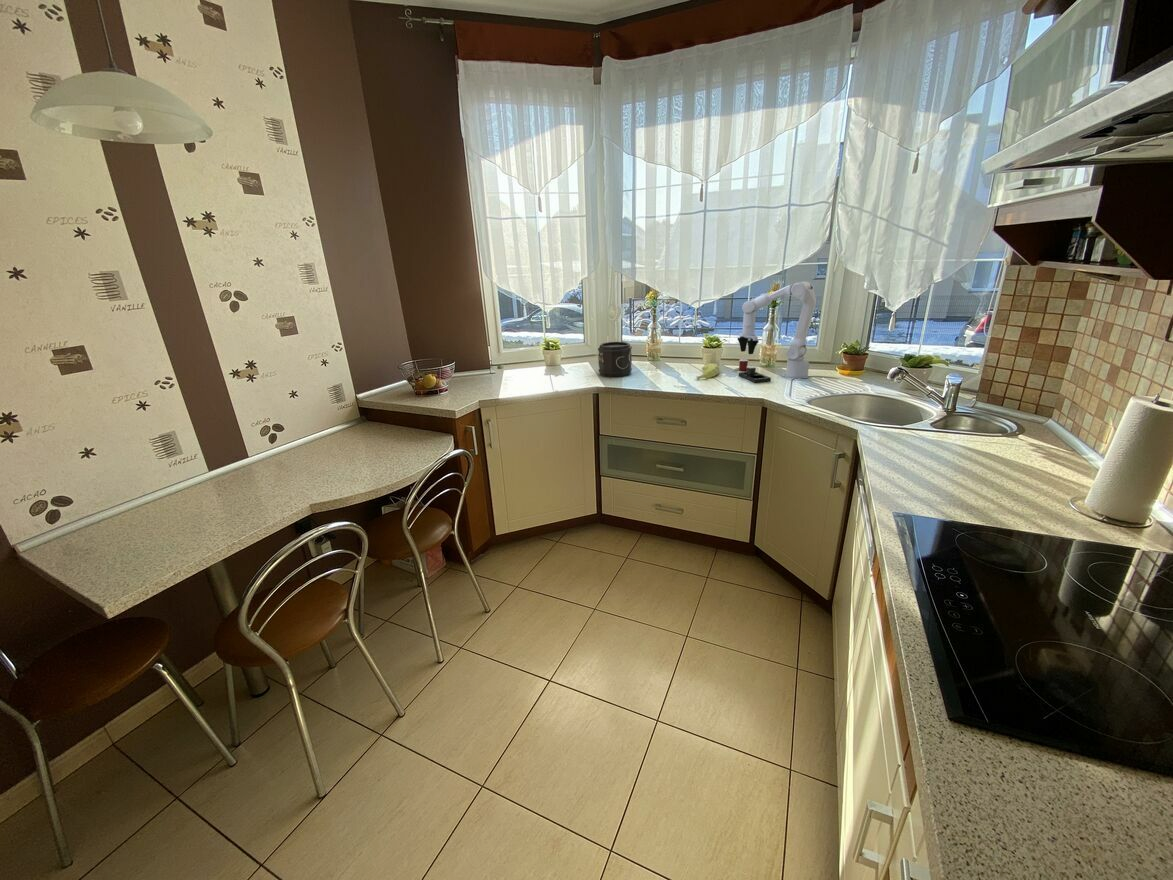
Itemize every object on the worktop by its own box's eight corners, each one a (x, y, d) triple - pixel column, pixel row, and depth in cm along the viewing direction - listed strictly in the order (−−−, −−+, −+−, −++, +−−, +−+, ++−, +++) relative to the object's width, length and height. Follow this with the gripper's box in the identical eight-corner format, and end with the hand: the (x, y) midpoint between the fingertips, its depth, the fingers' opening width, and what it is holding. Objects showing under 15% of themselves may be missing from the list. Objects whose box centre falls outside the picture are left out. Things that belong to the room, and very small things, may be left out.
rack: (738, 377, 236) (738, 372, 235) (753, 375, 237) (754, 371, 236) (754, 384, 222) (754, 379, 221) (770, 382, 223) (771, 377, 222)
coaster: (746, 368, 252) (746, 367, 252) (754, 371, 244) (754, 370, 244) (731, 369, 250) (731, 368, 250) (739, 373, 243) (739, 372, 242)
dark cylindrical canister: (638, 371, 257) (638, 342, 251) (622, 379, 243) (622, 348, 237) (609, 368, 266) (608, 340, 260) (592, 375, 252) (591, 346, 246)
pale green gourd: (725, 359, 241) (705, 371, 229) (728, 369, 243) (708, 382, 230) (702, 362, 251) (681, 375, 239) (705, 372, 253) (684, 385, 240)
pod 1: (744, 368, 249) (745, 358, 247) (749, 370, 245) (749, 360, 243) (737, 369, 249) (737, 359, 247) (741, 371, 245) (742, 361, 243)
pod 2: (752, 375, 235) (753, 365, 233) (757, 377, 231) (757, 367, 229) (744, 376, 234) (744, 366, 232) (748, 378, 230) (749, 368, 228)
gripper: (734, 324, 244) (732, 350, 249) (749, 328, 230) (747, 356, 235) (747, 323, 245) (745, 349, 250) (762, 326, 232) (760, 354, 237)
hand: (746, 352), depth 243 cm, fingers open, 7 cm apart
